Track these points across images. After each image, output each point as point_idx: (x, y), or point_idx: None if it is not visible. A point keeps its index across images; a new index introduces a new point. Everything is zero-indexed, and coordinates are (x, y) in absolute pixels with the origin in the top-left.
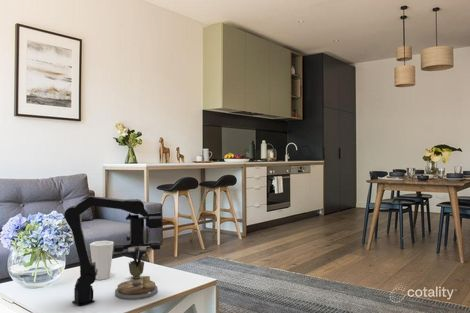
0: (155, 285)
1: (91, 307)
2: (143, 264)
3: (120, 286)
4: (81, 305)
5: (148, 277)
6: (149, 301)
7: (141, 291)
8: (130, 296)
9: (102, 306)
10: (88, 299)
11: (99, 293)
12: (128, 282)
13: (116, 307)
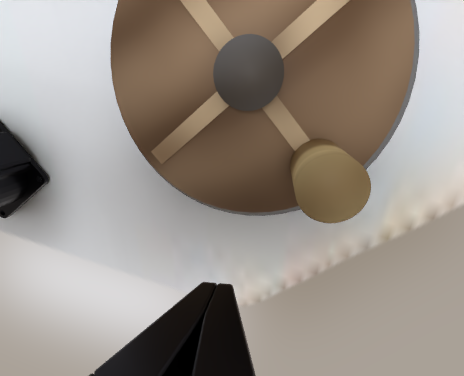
0: (414, 13)
1: (57, 240)
2: None
3: (133, 83)
4: (9, 215)
5: (351, 209)
6: (313, 252)
7: (277, 208)
8: (213, 206)
9: (99, 243)
10: (12, 198)
11: (33, 34)
12: None
13: (159, 274)
